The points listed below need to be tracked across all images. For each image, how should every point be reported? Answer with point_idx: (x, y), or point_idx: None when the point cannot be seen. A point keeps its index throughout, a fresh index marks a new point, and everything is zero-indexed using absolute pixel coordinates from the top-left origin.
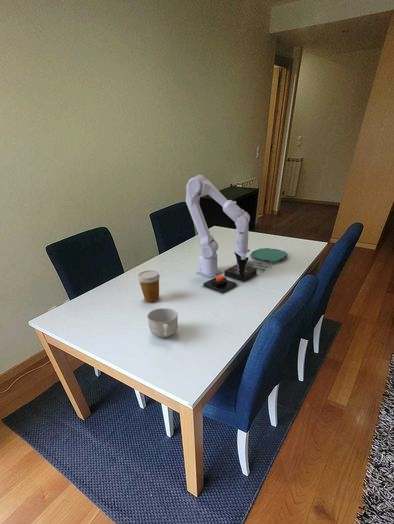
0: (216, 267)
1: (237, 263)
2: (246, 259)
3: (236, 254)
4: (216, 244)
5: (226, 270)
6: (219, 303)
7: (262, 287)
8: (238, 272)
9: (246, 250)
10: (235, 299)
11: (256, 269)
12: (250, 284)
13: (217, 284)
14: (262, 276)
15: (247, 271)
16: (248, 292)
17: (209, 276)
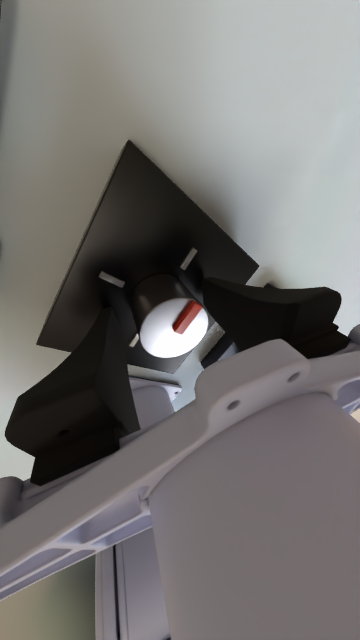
0: (156, 410)
1: (186, 350)
2: (334, 308)
3: (139, 429)
4: (135, 609)
5: (174, 366)
6: (345, 308)
7: (326, 120)
8: (203, 305)
9: (341, 410)
10: (352, 268)
11: (139, 149)
12: (269, 211)
13: None
14: (149, 76)
15: (194, 248)
16: (335, 220)
17: (178, 392)
